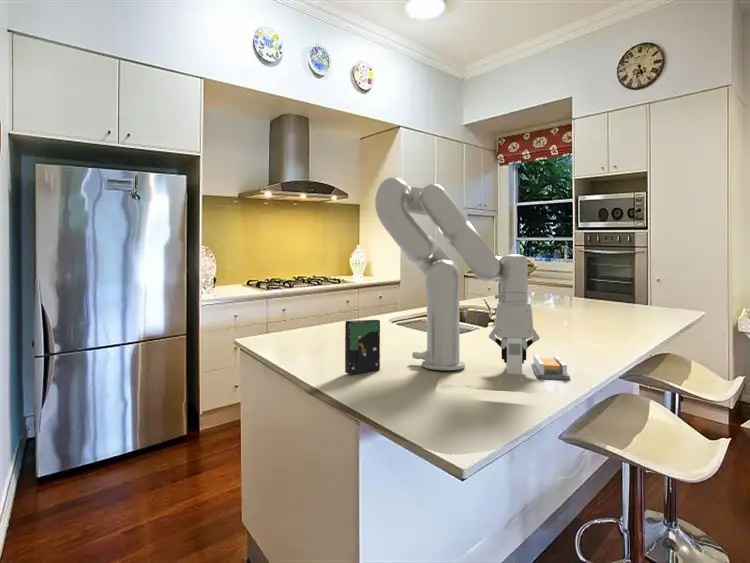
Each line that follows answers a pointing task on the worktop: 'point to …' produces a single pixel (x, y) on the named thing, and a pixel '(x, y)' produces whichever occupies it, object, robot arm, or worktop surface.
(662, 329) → the worktop surface
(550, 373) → the rail
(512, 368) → the block
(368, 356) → the disk drive
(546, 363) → the orange rectangular panel
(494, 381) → the worktop surface
